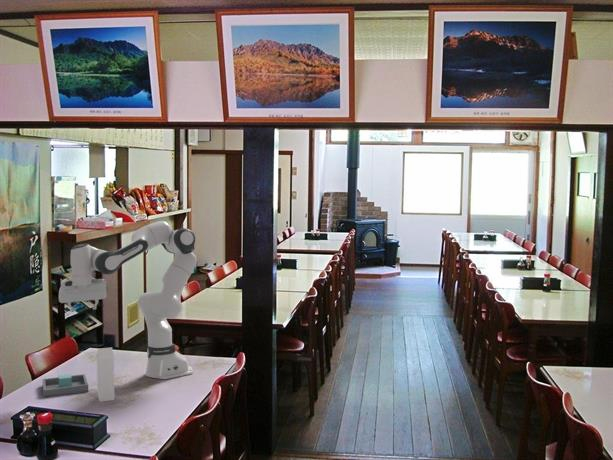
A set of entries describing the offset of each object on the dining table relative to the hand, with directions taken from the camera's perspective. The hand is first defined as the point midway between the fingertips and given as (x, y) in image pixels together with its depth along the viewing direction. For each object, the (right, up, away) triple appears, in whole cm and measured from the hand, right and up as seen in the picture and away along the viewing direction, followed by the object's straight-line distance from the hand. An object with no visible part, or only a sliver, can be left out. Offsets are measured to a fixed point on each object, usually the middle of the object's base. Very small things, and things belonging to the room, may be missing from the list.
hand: (83, 310), depth 277 cm
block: (-7, -34, -3) cm, 35 cm away
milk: (+15, -36, -15) cm, 42 cm away
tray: (-7, -34, -3) cm, 35 cm away
